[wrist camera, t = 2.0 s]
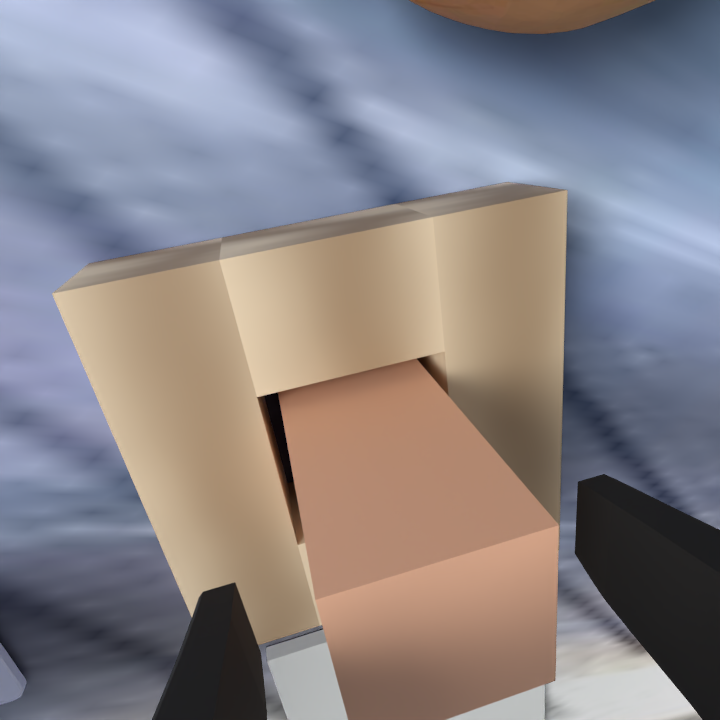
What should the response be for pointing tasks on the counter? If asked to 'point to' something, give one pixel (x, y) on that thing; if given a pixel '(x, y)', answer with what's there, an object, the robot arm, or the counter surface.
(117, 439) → the pocket block
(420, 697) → the peg
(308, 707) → the mat
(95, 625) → the counter surface
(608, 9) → the onion
